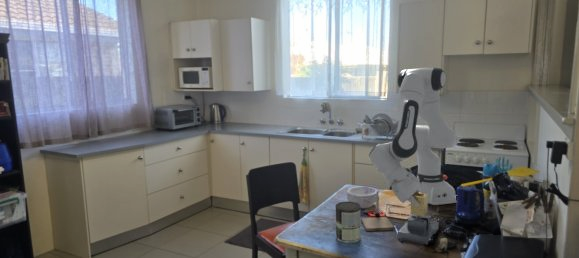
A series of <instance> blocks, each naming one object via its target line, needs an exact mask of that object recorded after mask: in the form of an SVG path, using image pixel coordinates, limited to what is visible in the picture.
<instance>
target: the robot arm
mask: <svg viewBox="0 0 579 258" xmlns="http://www.w3.org/2000/svg"><path fill="white" fill-rule="evenodd" d="M446 79H447V78H446V72H445V70H443V69H442V68H440V67H434V68H433V67H419V68H417V67H416V68H410V69H409V68H407V69H402V70H401V71H400V72H399V73H398V74H397V87H398V88H399V91H398V96H397V101H396V102H397V110H398V111H399V112H400V113H401V115H402V116H401V120H400V126H399V131H398V132H397V134H396V135H395V137H394V138H393V139H392V141H390V142H387V143H378V144H376V145H375V146H374V147H372V149H371V150H370V152H369V154H368V159H369V161H370V162H371V164H372V165H373V166H374V168H376V170H377V171H378V172H380V173H381V174H382V176H383V177H384V179H385V181H386V182H388V184H389V185H390V186H391V190H392V192H393V194H394V195H395V196H396V197H397V199H398V200H399V201H400V202H401V203H405V202H407V201H408V202H409V203H410V204H411V203H413V204H414V205H415V206H416V207H417V206H419V205H420V203H419V202H418V200H417V201H416V200H415V199H414V197H413V196H412V195H413V194H414V193H415V192H417V193H424V194H428V205H429V204H430V205H433V206H439V205H447V204H455V203H456V196H457V194H456V190H455V188H454V187H453V186H452V185H451V184H449V182H447V181H445V180H447V179H448V176H447V175H446V174H443V173H442V172H441V170H442V169H441V163H442V161H441V158H440V156H438V154H436V153H434V152H433V150H432V148H435V149H450V148H453V146H454V145H455V144H456V141H457V133H456V131H455V130H454V128H452V127H451V126H449V125H448V124H447V122H446V121H445V120H444V118H443V114H442V111H441V102H440V101H441V99H440V98H441V97H440V91H441V90H442V89H443V88H444V87H445V85H446V84H445V83H446ZM418 118H419V119H421V120H422V121H424V122H425V123H426V125H425V124H417V123H418ZM414 154H416V157H417V172H416V175H415V174H414V173H412V170H411V168H409V167H403V166H402V164H401V163H403V162H405V161H407V160H408V159H410V157H412V156H414ZM456 204H457V203H456Z"/></svg>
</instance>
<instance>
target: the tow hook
mask: <svg viewBox="0 0 579 258" xmlns="http://www.w3.org/2000/svg"><path fill="white" fill-rule="evenodd" d="M379 200H380V195H379V191H378V190H377V196H376V202H375V210H370V211H368V212H367V215H368V216H369V218H376V217H386V216H387V213H386V212H385V211H383V210H380V206H379V205H380V203H379ZM373 212H375V213H373ZM380 212H381V213H382V214H381V213H380ZM371 213H372V214H371ZM385 215H386V216H385Z"/></svg>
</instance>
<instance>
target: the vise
mask: <svg viewBox="0 0 579 258" xmlns="http://www.w3.org/2000/svg"><path fill="white" fill-rule="evenodd" d="M410 215H411V217H408V218H407V220H406V222H405V223H404V224H403V225H402V227H401V228H400V229H399V230H398V231H397V240H403V241H407V242H413V243H415V244H422V245H425V246H426V245H427V246H428V244H429V243H428V241H429V239H430V238H431V236H432V235H433V234H436V233H437V232H438V231H439V226H440V225H439V224H440V223H439V221H432V220H431V218H432V216H431V215H427V214H426V215H425V216H418V215H412V214H410Z"/></svg>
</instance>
